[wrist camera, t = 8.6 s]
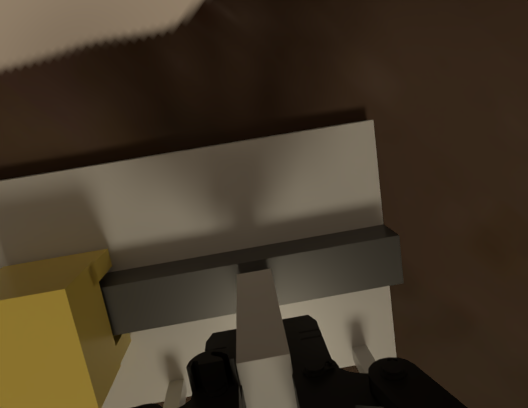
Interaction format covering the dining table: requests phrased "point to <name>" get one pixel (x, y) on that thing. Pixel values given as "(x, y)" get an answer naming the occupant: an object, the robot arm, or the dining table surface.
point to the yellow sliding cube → (57, 333)
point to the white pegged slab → (220, 245)
